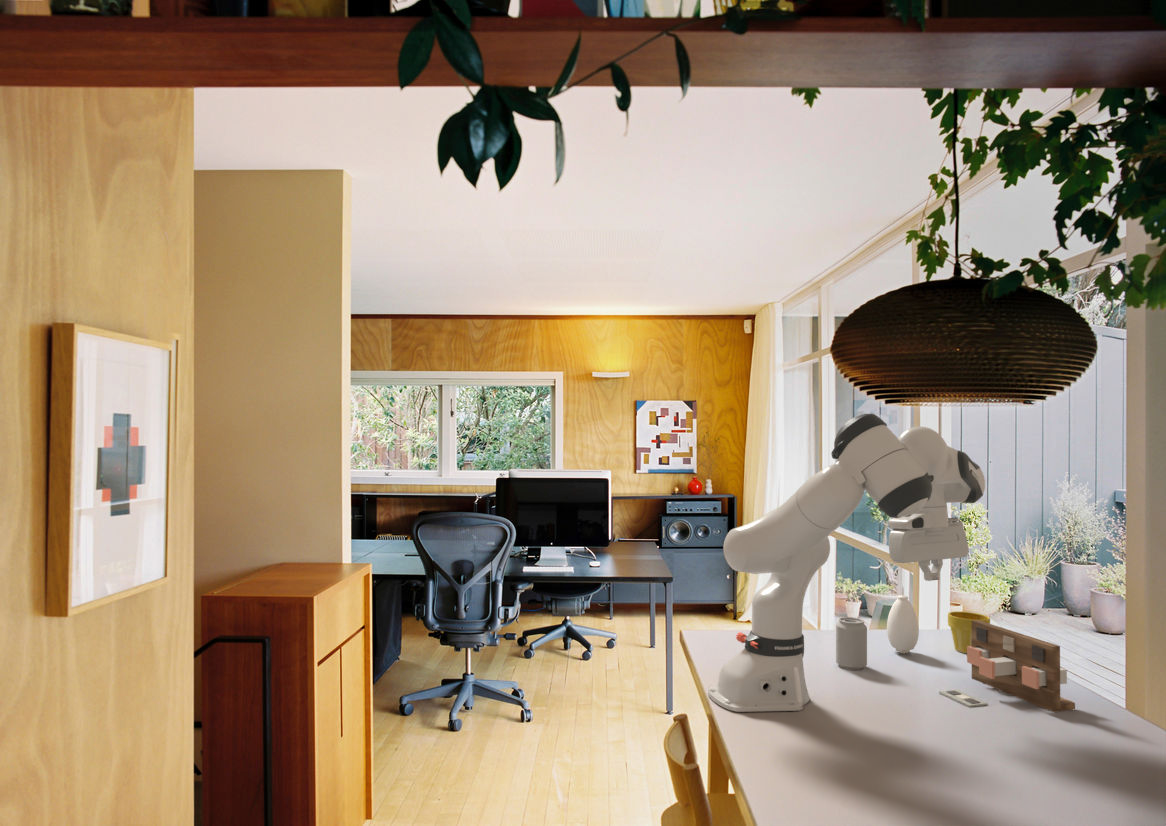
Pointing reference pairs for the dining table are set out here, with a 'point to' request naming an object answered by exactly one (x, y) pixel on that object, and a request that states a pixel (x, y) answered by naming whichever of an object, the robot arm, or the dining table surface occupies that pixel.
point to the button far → (976, 654)
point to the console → (1027, 655)
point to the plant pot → (963, 628)
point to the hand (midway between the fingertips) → (932, 580)
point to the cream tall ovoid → (902, 625)
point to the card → (963, 698)
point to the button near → (1039, 677)
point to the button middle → (997, 666)
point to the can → (851, 643)
